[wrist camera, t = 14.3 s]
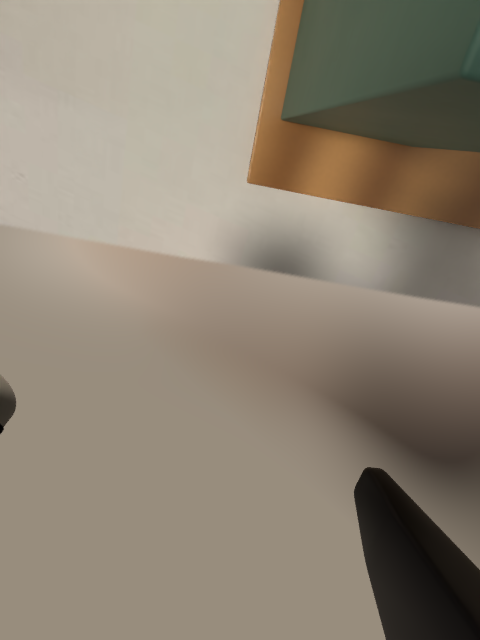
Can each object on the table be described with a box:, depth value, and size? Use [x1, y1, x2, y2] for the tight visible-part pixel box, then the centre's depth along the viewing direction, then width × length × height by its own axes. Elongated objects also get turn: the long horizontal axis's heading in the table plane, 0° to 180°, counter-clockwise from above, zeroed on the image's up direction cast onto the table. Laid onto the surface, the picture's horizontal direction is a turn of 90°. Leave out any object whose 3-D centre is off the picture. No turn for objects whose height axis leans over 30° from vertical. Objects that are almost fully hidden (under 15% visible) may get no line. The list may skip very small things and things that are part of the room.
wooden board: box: [247, 0, 480, 229], centre depth 16 cm, size 14×10×1 cm
